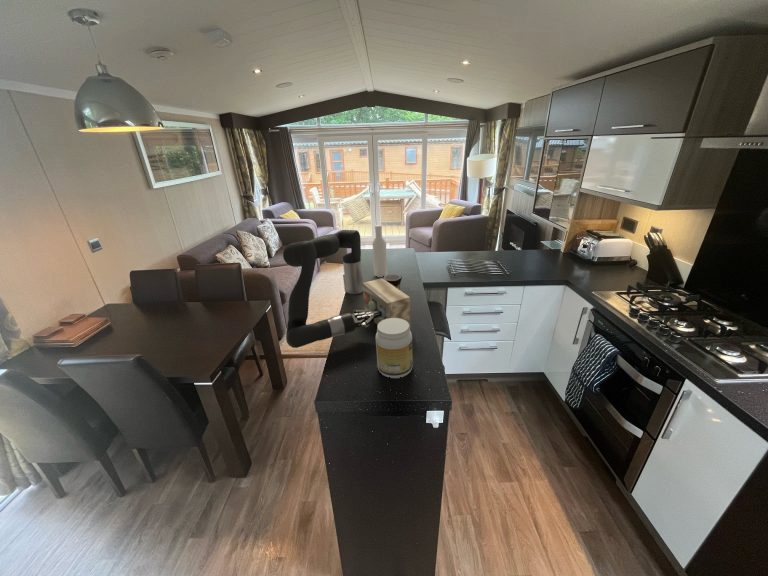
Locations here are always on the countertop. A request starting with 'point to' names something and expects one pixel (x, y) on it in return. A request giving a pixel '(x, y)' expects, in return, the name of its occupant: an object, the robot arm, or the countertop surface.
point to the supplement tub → (394, 348)
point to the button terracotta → (366, 298)
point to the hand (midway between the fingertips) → (380, 313)
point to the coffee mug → (393, 280)
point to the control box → (387, 300)
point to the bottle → (379, 253)
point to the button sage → (372, 305)
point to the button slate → (383, 312)
